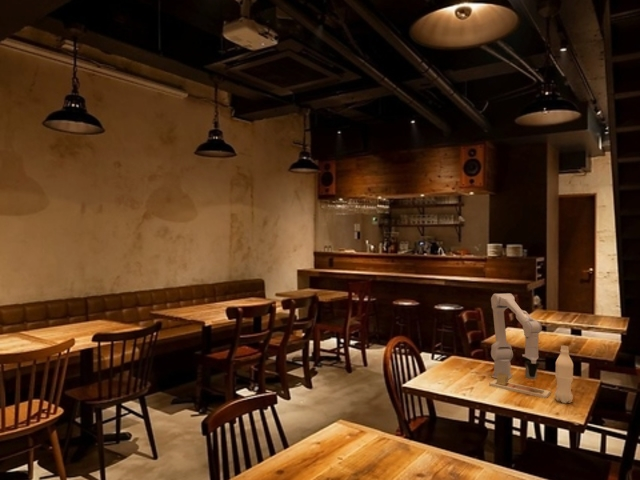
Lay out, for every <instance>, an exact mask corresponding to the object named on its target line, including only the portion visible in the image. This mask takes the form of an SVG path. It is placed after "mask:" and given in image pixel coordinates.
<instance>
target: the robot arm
mask: <svg viewBox="0 0 640 480" xmlns="http://www.w3.org/2000/svg"><path fill="white" fill-rule="evenodd" d="M515 300H516V299H515V296H514V295H513V294H512V293H508V292H507V293H493V294H492V296H491V298H490V302H491V309H492V314H493V315H492V316H493V325H494V335H495V342H494V343H492V344H491V350H490V355H491V358H492V359H493V361H494V366H493V370H494V371H493V373H494V374H493V375H491V377H490V378H494V379H497V374H498V373H505V374H508V380H510V378H512V377H513V375H512V373H511V371H512V368H511V367H512V365H511V360H512V359H513V357H514V353H513V350H512V349H513V348H512V344H510V343H509V342H507V334H506V333H507V331H506V323H505V322H506V321H505V311H506V309H509V310H511V312H513V314H515V318H516V320H517V321H518V322H519V323H520V325H521V326H522V330H523V335H524V339H525V341H524V348H525V349H524V354H523V353H522V354H521V355H522V356H521V357H522V358H523V359H524V361H525V366H526V365H528V370H529V376H530V377H535V374H536V370H537V371H538V367H539V366H540V362H537V361H538V359H539V342H540V341H539V339H540V338H539V337H540V335H539V334H540V333H541V332H542V330H543V327H542V324H541V322H540V321H539V320H536V319H533V317H531V315H530V314H529V313H528V312H527V311H526V310H523V309H521V308H520V306H519V305H518V304H517V302H516V301H515Z"/></svg>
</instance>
